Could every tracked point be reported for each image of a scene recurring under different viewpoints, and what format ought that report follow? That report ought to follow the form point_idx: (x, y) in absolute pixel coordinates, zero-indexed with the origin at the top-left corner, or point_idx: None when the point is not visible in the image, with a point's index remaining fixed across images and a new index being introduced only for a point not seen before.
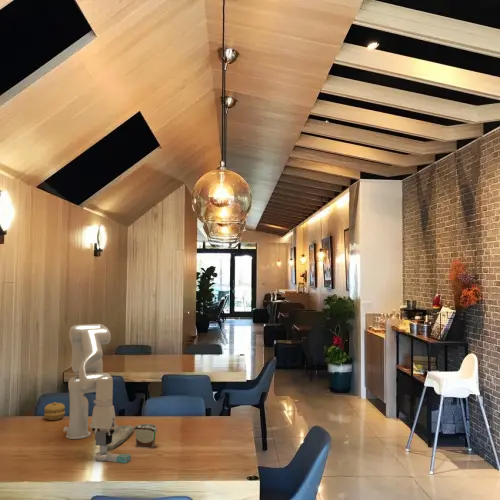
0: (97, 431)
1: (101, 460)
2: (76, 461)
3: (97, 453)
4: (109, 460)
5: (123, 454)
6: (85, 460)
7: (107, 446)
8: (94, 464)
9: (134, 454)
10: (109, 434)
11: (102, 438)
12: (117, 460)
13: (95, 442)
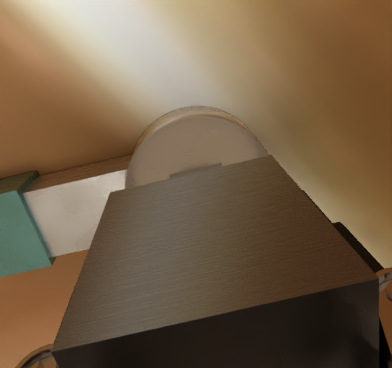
0: (352, 324)
1: (160, 120)
2: (386, 9)
3: None
4: (106, 162)
5: (14, 261)
6: (321, 74)
7: None
8: (166, 31)
9: None
10: (34, 365)
11: (157, 237)
12: (18, 179)
13: (283, 169)
